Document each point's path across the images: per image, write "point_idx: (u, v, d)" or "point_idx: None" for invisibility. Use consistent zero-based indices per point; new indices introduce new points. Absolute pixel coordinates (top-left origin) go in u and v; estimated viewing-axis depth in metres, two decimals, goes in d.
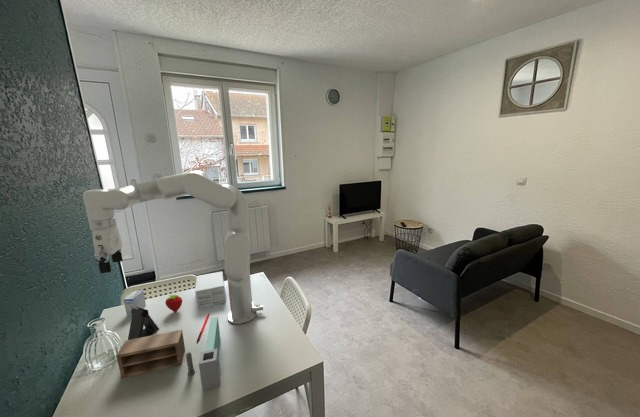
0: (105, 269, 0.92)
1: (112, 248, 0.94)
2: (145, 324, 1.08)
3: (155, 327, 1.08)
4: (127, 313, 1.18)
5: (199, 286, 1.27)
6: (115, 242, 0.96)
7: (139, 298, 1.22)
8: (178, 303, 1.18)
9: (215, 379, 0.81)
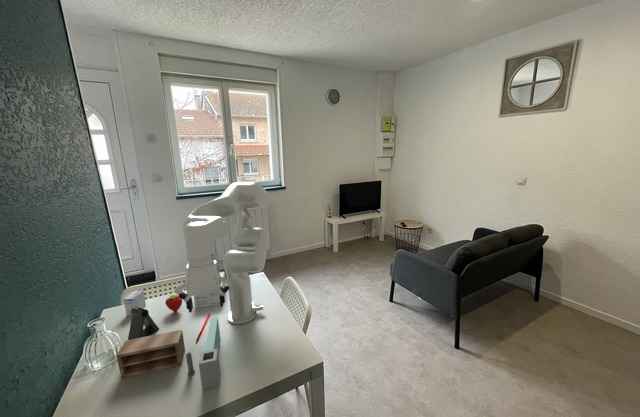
0: (224, 299, 0.89)
1: None
2: (145, 324, 1.08)
3: (155, 327, 1.08)
4: (127, 313, 1.18)
5: None
6: None
7: (139, 298, 1.22)
8: (178, 303, 1.18)
9: (215, 379, 0.81)
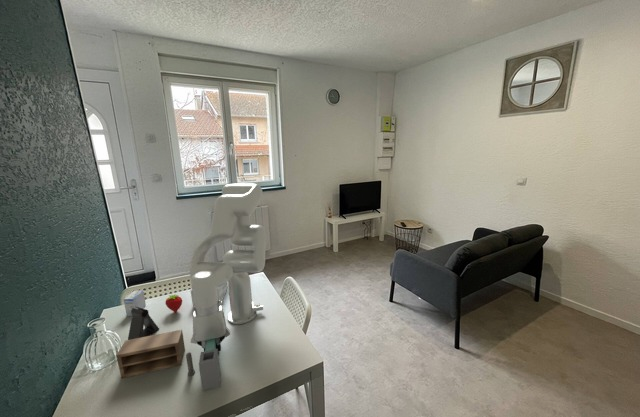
0: (220, 347, 0.92)
1: None
2: (145, 324, 1.08)
3: (155, 327, 1.08)
4: (127, 313, 1.18)
5: None
6: None
7: (139, 298, 1.22)
8: (178, 303, 1.18)
9: (215, 379, 0.81)
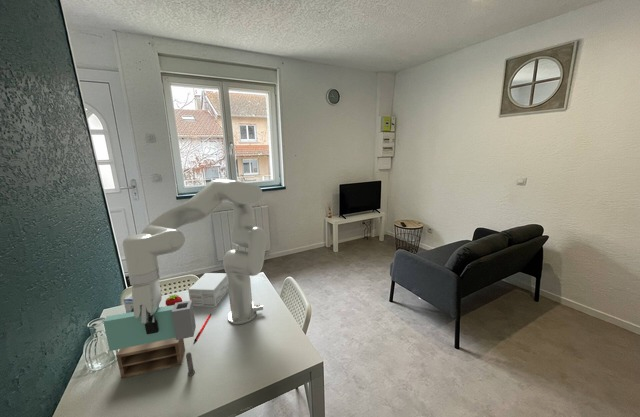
0: None
1: None
2: None
3: None
4: None
5: (196, 284, 1.28)
6: None
7: None
8: None
9: (193, 321, 0.86)
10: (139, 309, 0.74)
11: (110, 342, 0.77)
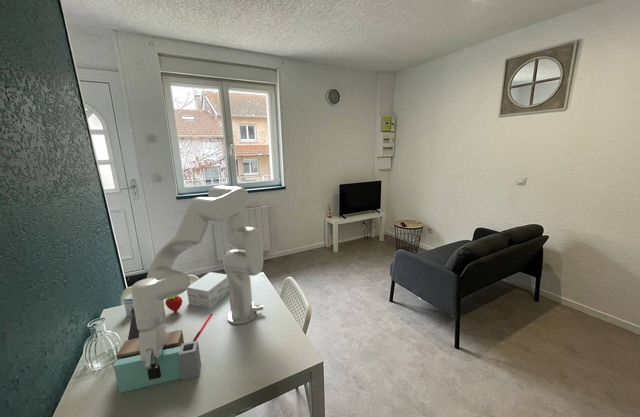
0: None
1: None
2: None
3: None
4: (127, 313, 1.18)
5: (195, 283, 1.29)
6: None
7: None
8: (178, 303, 1.18)
9: (199, 360, 0.89)
10: (145, 353, 0.76)
11: (120, 385, 0.80)
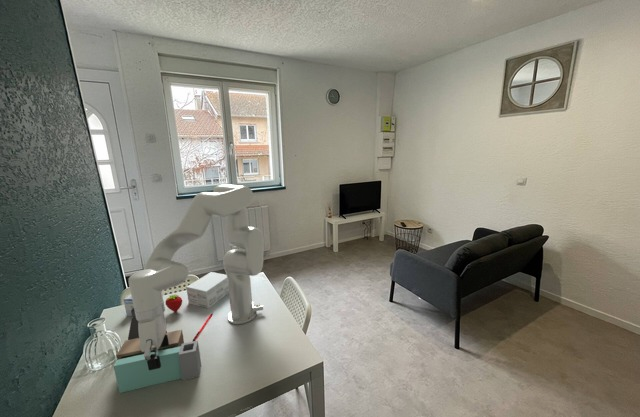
0: None
1: None
2: None
3: None
4: (127, 313, 1.18)
5: (195, 283, 1.30)
6: None
7: None
8: (178, 303, 1.18)
9: (199, 360, 0.89)
10: (145, 344, 0.76)
11: (120, 385, 0.80)
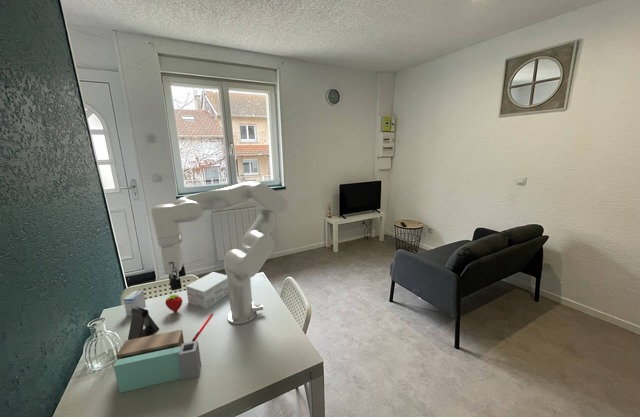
0: None
1: None
2: (145, 324, 1.08)
3: (155, 327, 1.08)
4: (127, 313, 1.18)
5: (195, 282, 1.30)
6: None
7: (139, 298, 1.22)
8: (178, 303, 1.18)
9: (199, 360, 0.89)
10: (168, 266, 0.88)
11: (120, 385, 0.80)
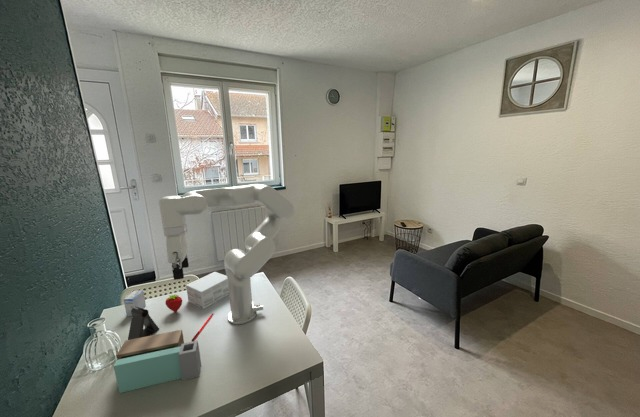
0: None
1: None
2: (145, 324, 1.08)
3: (155, 327, 1.08)
4: (127, 313, 1.18)
5: (196, 281, 1.31)
6: None
7: (139, 298, 1.22)
8: (178, 303, 1.18)
9: (199, 360, 0.89)
10: (172, 255, 0.91)
11: (120, 385, 0.80)
